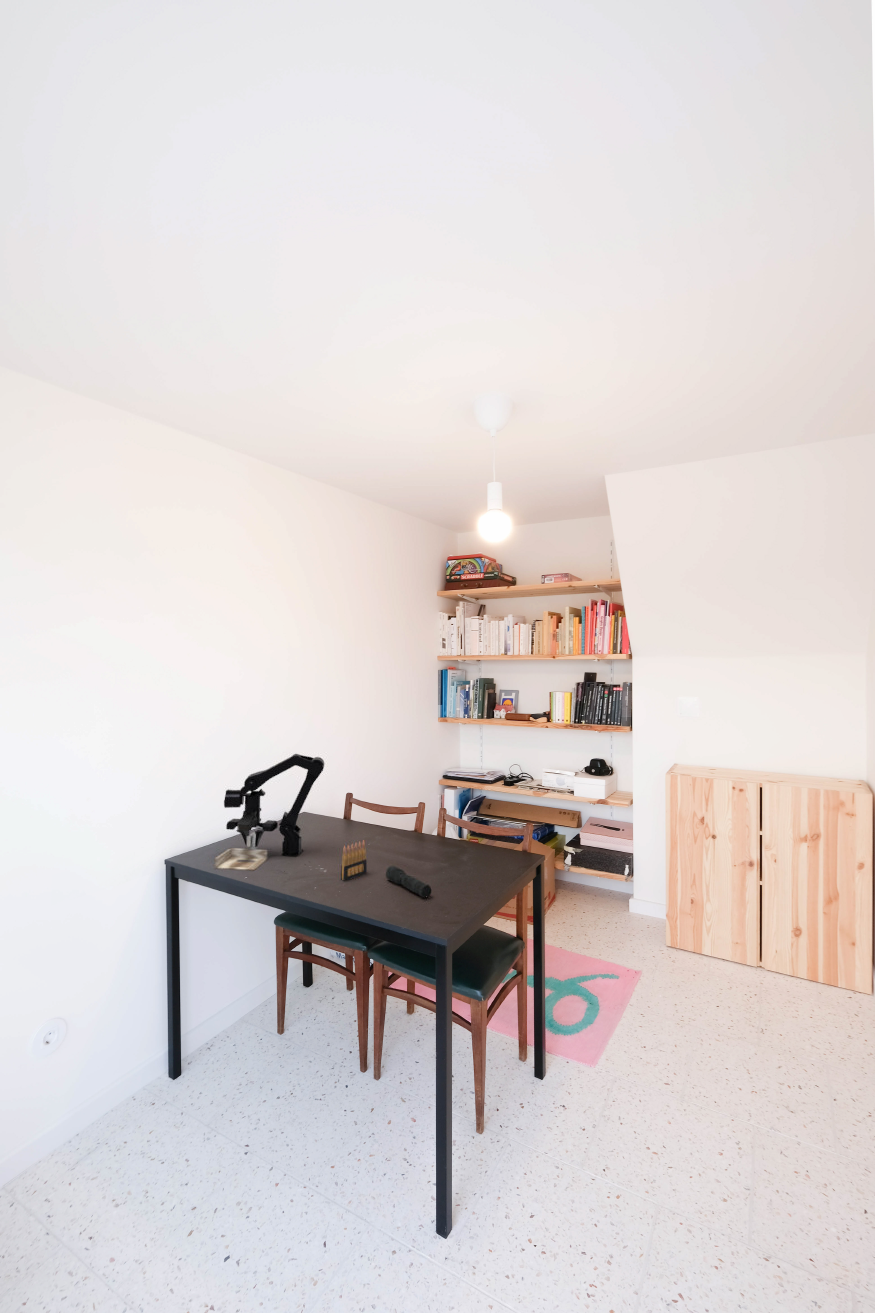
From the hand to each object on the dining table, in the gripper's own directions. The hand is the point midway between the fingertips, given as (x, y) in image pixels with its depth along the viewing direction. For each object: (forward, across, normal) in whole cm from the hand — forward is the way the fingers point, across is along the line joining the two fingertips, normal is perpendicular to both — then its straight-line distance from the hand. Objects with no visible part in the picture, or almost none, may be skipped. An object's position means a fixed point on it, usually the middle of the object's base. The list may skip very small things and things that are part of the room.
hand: (251, 847), depth 229 cm
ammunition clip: (+3, +45, -16) cm, 48 cm away
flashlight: (+4, +66, -23) cm, 70 cm away
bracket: (+3, -2, 0) cm, 4 cm away
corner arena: (+3, 0, -10) cm, 10 cm away
